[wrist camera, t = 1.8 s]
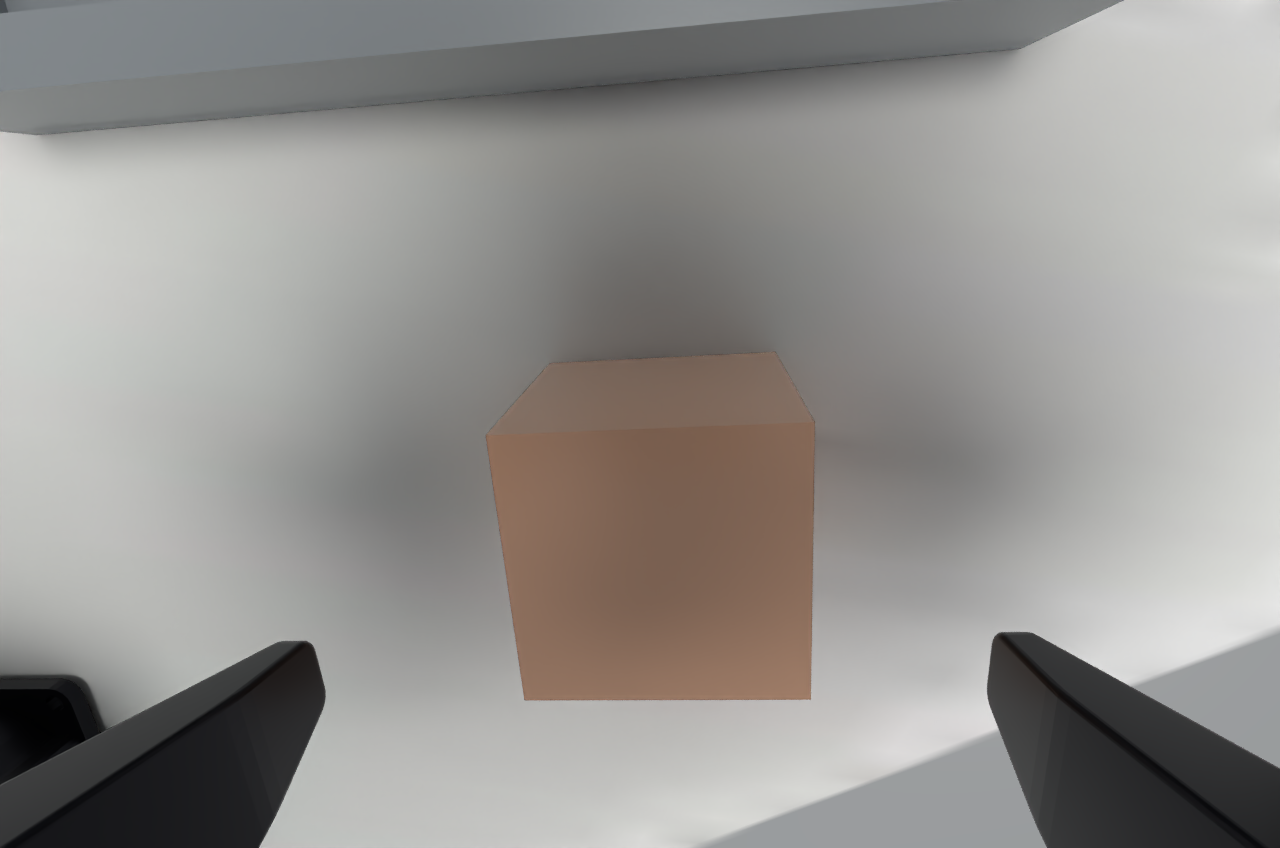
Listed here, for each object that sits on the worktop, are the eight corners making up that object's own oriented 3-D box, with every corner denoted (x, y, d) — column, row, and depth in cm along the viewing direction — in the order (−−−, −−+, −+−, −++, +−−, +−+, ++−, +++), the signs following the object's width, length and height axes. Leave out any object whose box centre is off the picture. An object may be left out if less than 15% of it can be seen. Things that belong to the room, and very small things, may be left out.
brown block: (572, 558, 17) (524, 700, 12) (550, 362, 15) (486, 434, 10) (775, 554, 16) (810, 699, 11) (775, 350, 15) (815, 422, 10)
